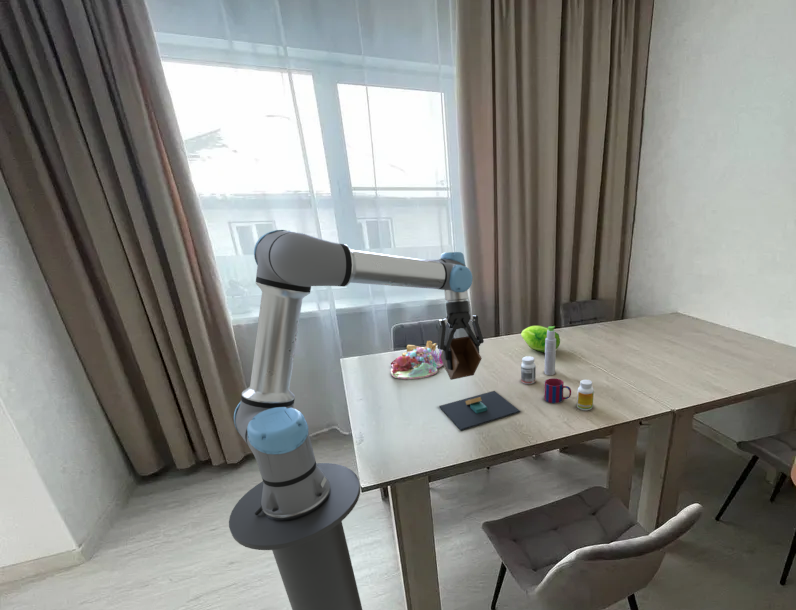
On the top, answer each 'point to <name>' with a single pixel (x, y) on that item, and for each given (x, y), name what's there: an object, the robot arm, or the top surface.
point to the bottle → (550, 351)
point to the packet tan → (473, 400)
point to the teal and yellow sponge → (478, 407)
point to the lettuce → (537, 337)
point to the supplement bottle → (585, 395)
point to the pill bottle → (528, 370)
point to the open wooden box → (462, 358)
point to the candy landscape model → (417, 362)
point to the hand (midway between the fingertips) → (463, 366)
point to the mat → (469, 418)
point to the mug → (555, 390)
